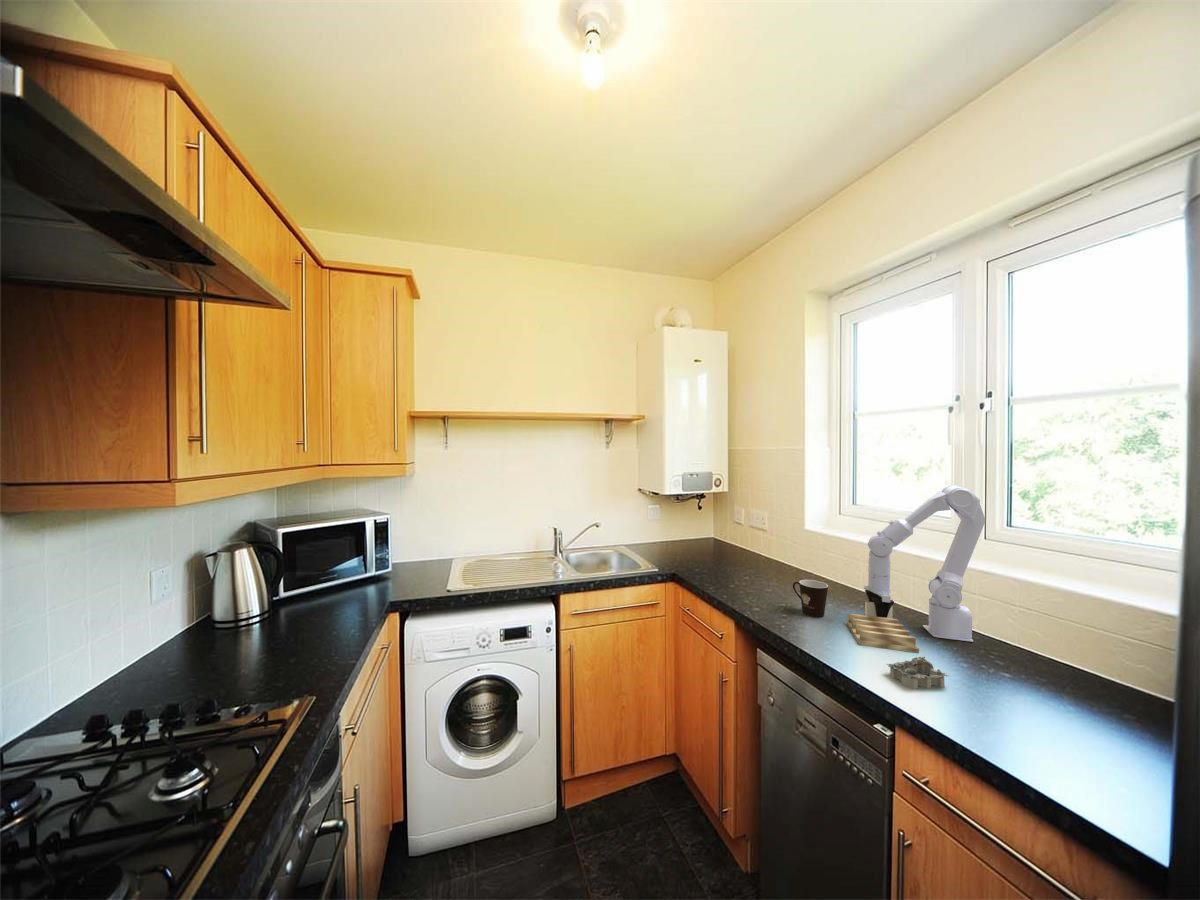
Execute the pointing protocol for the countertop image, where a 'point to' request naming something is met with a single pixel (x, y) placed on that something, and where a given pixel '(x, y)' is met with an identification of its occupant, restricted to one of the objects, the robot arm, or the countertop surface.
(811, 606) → the coffee mug
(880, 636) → the dish rack
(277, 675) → the countertop surface
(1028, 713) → the countertop surface
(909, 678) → the ruined castle model
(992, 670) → the countertop surface
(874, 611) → the white block
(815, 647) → the countertop surface
